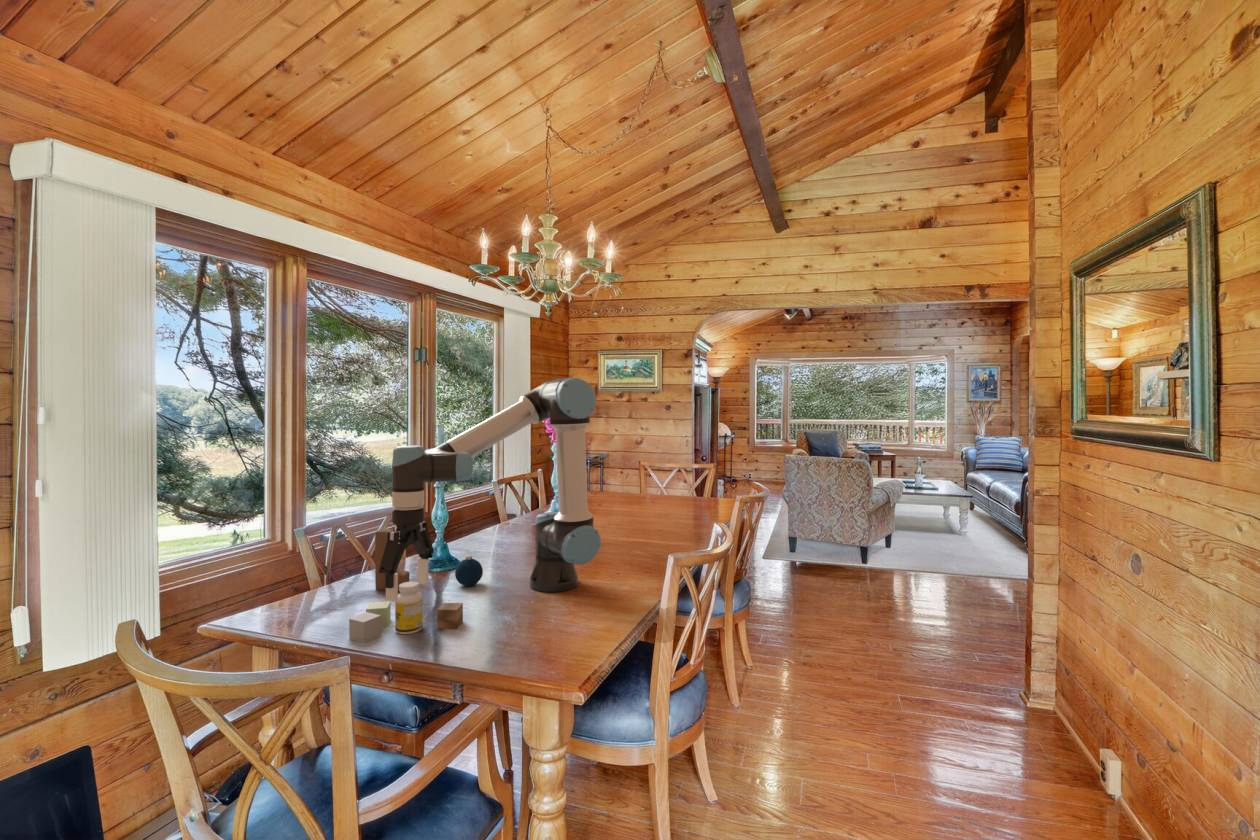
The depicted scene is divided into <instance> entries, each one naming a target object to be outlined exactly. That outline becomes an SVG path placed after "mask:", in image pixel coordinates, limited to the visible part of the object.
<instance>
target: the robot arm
mask: <svg viewBox="0 0 1260 840" xmlns="http://www.w3.org/2000/svg"><path fill="white" fill-rule="evenodd" d="M596 403H597V397H596V393H595V390H594V388H593V387H592V386H591V385H590V384H589V382H587V381H586V380H584V379H582V378H578V377H577V378H576V377H572V376H571V377H565V378H563V377H562V378H555V379H554V378H553V379H550V380H547V381H545V382H543V383H541V384H540V385H538V386H536V387H535V388H533V389H531V390H530V391H528V392H527V393H525V394H523V395H521V396H520V397H519V399H518V401H517V402H516V403H514V404H512V405H510V406H508V407H506V408H504V409H503V410H501V411H499V412H497V413H496V414H494V415H492V416H490V417H488V418H486V419H485V420H483V421H481V422H479V423H478V424H476V425H474V426H472V427H471V428H469V429H467V430H465V431H463V432H461V433H459V434H458V435H456V436H454V437H452V438H450V439H448V440H446V441H445V442H443V443H441V444H438V446H436V447H431V448H428V449H425V447H424V446H422V445H398V446H396V447H395V448H393V451H392V463H391V468H392V469H391V470H392V471H391V474H392V475H391V477H392V479H391V481H392V482H391V483H392V486H391V488H392V490H391V491H392V494H391V495H392V504H391V505H392V506H391V507H393V509H392V511H391V523H392V524H393V525H395V526H396V527H395V528H396V529H395V532H391V531H389V532H388V534H387V543H386V546H385V550H384V554H383V557H382V561H381V564H380V568H379V573H381V574H385V587H386V590H385V602H387V601H390V602H395V601H397V600H398V595H399V593H398V592H399V590H398V573H395V572H396V570H397V567H398V568H399V566H400V562H401V560H402V558H403V555H404V553H405V550H407V549H408V548H409V546H411V545H412V546H413V548H414V550H415V551H416V553H417V555H418V556H419V558H417V581H416V582H418V583H419V585H420V584H421V585H429V567H430V566H429V562H430V561H429V559H433V557H434V554H435V549H434V547H433V544H432V543H433V542H432V540H431V536H430V533H429V529H428V528H429V527H428V522H427V521H425V508H424V507H423V506H425V484H427V483H442V482H460V481H468V480H470V479H471V477H473V476H472V475H473V472H474V461H473V457H475V456H477V455H479V454H480V453H483V452H484V451H486V450H487V449H489V448H491V447H494V446H495V445H496V444H498V443H500V442H501V441H503V440H504V439H506V438H509V437H510V436H512V435H514V434H515V433H517V432H518V431H520V430H522V429H523V428H526V427H527V426H529V425H531V424H534V425H537V424H539V423H540V422H543V421H545V420H547V419H548V420H549V425H550V426H551V428H552V429H554V430H555V445H556V446H555V449H556V474H557V475H556V476H557V502H558V511H549V512H548V511H547V512H542V513H538V514H537V515H536V517H535V522H534V523H535V524H534V528H535V529H534V530H535V536H534V538H535V561H534V562H535V563H534V565H533V567H532V571H531V575H530V576H529V587H530V588H531V589H532V590H534V591H539V592H544V593H546V592H547V593H557V592H558V591H559V592H565V590H566V591H569V589H570V590H572V589H574V587H575V588H576V587H577V586H578V585H579V577H578V576H579V575H578V572H577V569H576V566H575V565H579V566H580V565H585V564H587V563H589V562H591V561H592V560H593V559H594V558H595V557H596V555H598V553H599V550H600V548H601V542H602V540H601V534H600V532H599V531H598V530H597V528H596V527H594V514H593V513H592V512H590V511H589V508H588V507H589V505H588V483H587V482H588V480H587V479H588V478H587V453H586V451H587V449H586V429H587V427H588V426H590V424H591V421H590V420H591V417H590V416H591V415H592V413H593V411H594V410H595V408H596ZM571 588H572V589H571Z"/></svg>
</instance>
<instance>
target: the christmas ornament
mask: <svg viewBox="0 0 1260 840" xmlns="http://www.w3.org/2000/svg"><path fill="white" fill-rule="evenodd" d="M483 574H484V570H483V566H482V564H481V562H479V561H478V560H477V559H475V558H473V555H471V554H467V555H466V556H465V559H463V560H461V561H460V562H459V563H458V564H457V565H456V568H455V571H454V576H455V579H456V581H457V582H458V583H459V584H460V585H462V586H464V587H472V586H475V585H477V584H478V583H479V582H480V581H481V579H482V577H483Z"/></svg>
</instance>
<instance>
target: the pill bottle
mask: <svg viewBox="0 0 1260 840" xmlns="http://www.w3.org/2000/svg"><path fill="white" fill-rule="evenodd" d="M419 589H420V584H419V583H418V582H417V581H409V582H405V583H402V584H400V585H399V590H398V592H400V593H398V600H397V601H394V602H395V603H394V605H395V607H394V608H395V609H394V612H395V614H394V616H395V619H394V620H395V622H394V623H395V627H394V628H395V632H396V633H397V634H401V635H412V634H415V633H417V632H420V631H421V630H422V629H423V626H424V625H423V622H424V621H423V620H424V618H423V617H424V615H423V611H424V609H423V604H424V603H423V601H424V600H423V594H422V593H421V592H420V591H419Z"/></svg>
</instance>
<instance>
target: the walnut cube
mask: <svg viewBox="0 0 1260 840" xmlns="http://www.w3.org/2000/svg"><path fill="white" fill-rule="evenodd" d="M463 622H464V605H463V602H443V603H442V604H441V605H440V606H439V607H438V608H437V609H436V630H457V629H458V628H459V627H460V625H462V624H463Z"/></svg>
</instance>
